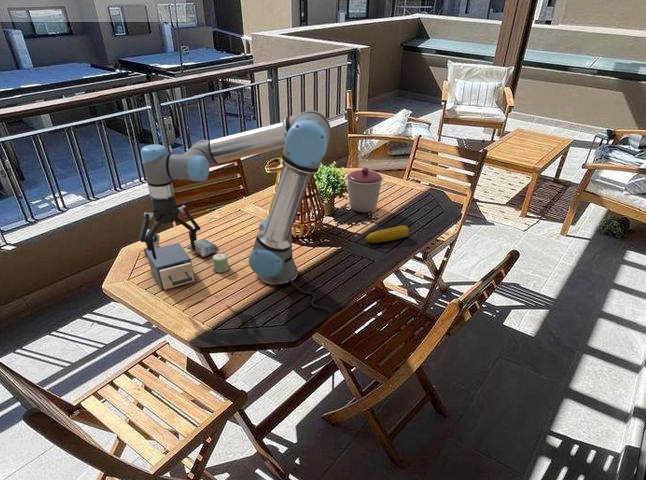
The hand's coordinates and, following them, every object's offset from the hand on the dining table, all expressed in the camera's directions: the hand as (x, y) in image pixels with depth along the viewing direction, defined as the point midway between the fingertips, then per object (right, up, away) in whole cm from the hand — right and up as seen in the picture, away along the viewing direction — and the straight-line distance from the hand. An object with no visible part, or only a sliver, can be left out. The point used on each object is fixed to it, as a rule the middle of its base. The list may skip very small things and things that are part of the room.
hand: (174, 253), depth 157 cm
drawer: (-3, -9, +12) cm, 15 cm away
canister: (+70, +33, +72) cm, 106 cm away
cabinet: (-7, -7, +16) cm, 19 cm away
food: (+80, +12, +45) cm, 92 cm away
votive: (+11, -3, +21) cm, 24 cm away
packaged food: (+1, +4, +31) cm, 31 cm away
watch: (-19, +3, +29) cm, 35 cm away
